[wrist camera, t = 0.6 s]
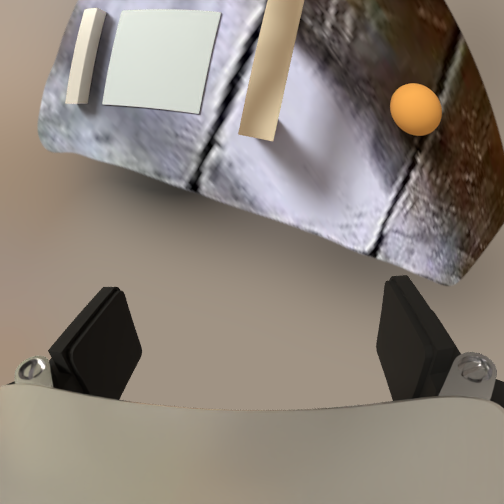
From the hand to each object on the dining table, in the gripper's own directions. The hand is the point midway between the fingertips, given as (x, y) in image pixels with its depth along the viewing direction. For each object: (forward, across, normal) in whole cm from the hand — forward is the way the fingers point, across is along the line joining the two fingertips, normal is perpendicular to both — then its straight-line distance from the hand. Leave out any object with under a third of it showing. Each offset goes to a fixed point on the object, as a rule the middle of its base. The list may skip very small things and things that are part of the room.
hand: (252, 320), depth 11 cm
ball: (+25, -17, -8) cm, 31 cm away
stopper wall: (+28, +22, -19) cm, 40 cm away
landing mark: (+28, +12, -16) cm, 35 cm away
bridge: (+28, -1, -12) cm, 31 cm away
